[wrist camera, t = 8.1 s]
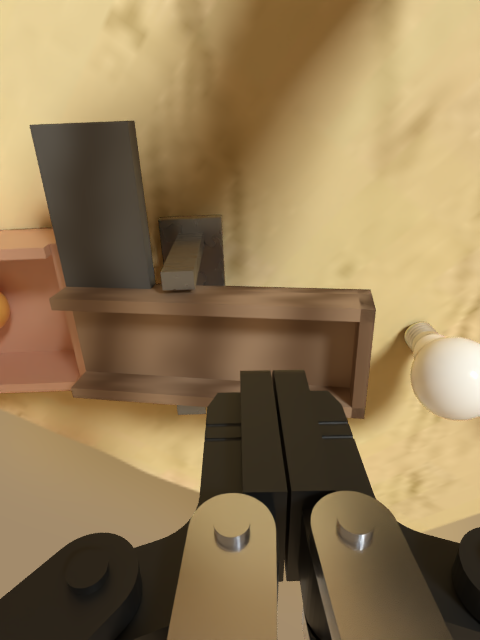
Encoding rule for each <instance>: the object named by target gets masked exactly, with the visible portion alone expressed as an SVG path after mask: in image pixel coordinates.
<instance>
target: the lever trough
mask: <svg viewBox="0 0 480 640" xmlns="http://www.w3.org/2000/svg"><path fill="white" fill-rule="evenodd" d="M30 129H31V134H32V138H33V143H34V147H35V151H36V156H37V160H38V165H39V169H40V173H41V178H42V182H43V187H44V191H45V196H46V200H47V204H48V209H49V213H50V218H51V222H52V226H53V231H54V235H55V240H56V244H57V249H58V253H59V257H60V262H61V266H62V271H63V275H64V280H65V284H66V287H65V288H64V289H62V290H61V291H59V292H58V293H56V294H55V295H54V296H52V297H51V298H49V301H50V305H51V309H52V310H58V311H73V315H74V320H75V324H76V329H77V333H78V338H79V342H80V347H81V351H82V355H83V360H84V364H85V369H86V372H85V373H84V374H83V375H82V376H81V377H80V379H79V380H78V381H77V382H76V383H75V384H74V385H73V386H72V387H71V390H72V394H73V397H75V398H88V399H102V400H115V401H129V402H143V403H156V404H170V405H183V406H197V407H208V406H209V404H210V403H211V401H212V400H213V399H214V397H215V396H216V394H217V393H226V392H240V371H252V370H271V375H272V372H273V370H299V369H304V371H305V374H306V378H307V382H308V385H309V389H310V391H325V390H328V391H329V392H330V393H331V394H332V395H333V396H334V397H335V398H336V399H337V400H338V401H339V402H340V403H341V404H342V407H343V409H344V412H345V415H346V418H359V419H364V414H365V405H366V396H367V387H368V377H369V368H370V359H371V349H372V340H373V331H374V322H375V312H376V309H375V305H374V301H373V298H372V294H371V290H362V289H323V288H285V287H246V286H208V285H196V286H195V289H188V290H163V289H162V284H156V283H155V276H154V268H153V260H152V253H151V245H150V237H149V230H148V222H147V214H146V207H145V199H144V191H143V184H142V176H141V168H140V161H139V153H138V145H137V138H136V130H135V122H134V121H114V122H89V123H64V124H39V125H30Z"/></svg>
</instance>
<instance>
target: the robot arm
mask: <svg viewBox="0 0 480 640" xmlns="http://www.w3.org/2000/svg"><path fill="white" fill-rule="evenodd" d="M284 562H285V571H286V580H287V581H300V585H301V592H302V599H303V614H302V628H303V634H304V639H305V640H480V527H479V528H475V529H473V530H471V531H469V532H468V533H467V534H465V535H464V537H463V538H462V540H461V542H460V543H457V542H452V541H449V540H445V539H441V538H438V537H434V536H430V535H426V534H423V533H420V532H417V531H414V530H412V529H410V528H407V527H405V526H404V525H402V524H400V523H399V522H397V521H396V519H395V517H394V516H393V514H392V513H391V512H390V511H389V509H387V508H386V507H385V506H384V505H383V504H382V503H380V502H379V501H378V500H376V498H375V496H374V493H373V491H372V488H371V485H370V482H369V479H368V477H367V474H366V471H365V468H364V465H363V463H362V460H361V457H360V454H359V451H358V449H357V446H356V443H355V440H354V439H353V435H352V432H351V429H350V426H349V424H348V421H347V418H346V415H345V412H344V409H343V407H342V404H341V403H340V402H339V401H338V400H337V399H336V398H335V397H334V396H333V395H332V394H331V393H330V392H329V391H328V390H325V391H310V389H309V385H308V382H307V378H306V374H305V371H304V369H299V370H273V372H272V375H271V370H252V371H240V392H226V393H217V394H216V396H215V397H214V399H213V400H212V401H211V403H210V404H209V406H208V407H207V418H206V430H205V442H204V453H203V464H202V476H201V487H200V498H199V503H198V506H197V509H196V511H195V513H194V514H193V516H192V517H191V519H190V520H189V521H188V522H187V523H186V524H185V525H184V526H183V527H182V528H181V529H179V530H178V531H177V532H175V533H173V534H171V535H170V536H168V537H165V538H163V539H160V540H157V541H154V542H152V543H148V544H146V545H142V546H139V547H136V548H133V547H132V545H131V544H130V543H129V542H128V541H127V540H125V539H124V538H122V537H121V536H118V535H116V534H111V533H95V534H90V535H86V536H83V537H81V538H78V539H76V540H74V541H72V542H71V543H69V544H67V545H66V546H65V547H64V548H62V549H61V550H60V551H58V552H57V553H56V554H55V555H53V556H52V557H51V558H50V559H49V560H47V561H46V562H45V563H44V564H42V565H41V566H40V567H39V568H38V569H36V570H35V571H34V572H33V573H32V574H30V575H29V576H28V577H27V578H25V579H24V580H23V581H22V582H20V583H19V584H18V585H17V586H16V587H14V588H13V589H12V590H11V591H10V592H8V593H7V594H6V595H5V596H3V597H2V598H1V599H0V640H277V601H278V582H281V581H283V573H284Z"/></svg>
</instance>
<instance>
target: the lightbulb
mask: <svg viewBox="0 0 480 640" xmlns="http://www.w3.org/2000/svg"><path fill="white" fill-rule="evenodd" d="M404 339H405V342H406V343H407V345H408V346H409V348H410V349H411V350H412V352H413V357H414V361H413V364H412V367H411V373H410V379H411V385H412V389H413V391H414V394H415V396H416V397H417V399H418V400H419V402H420V403H421V404H422V405H423V406H424V407H425V408H426V409H427V410H429V411H430V412H432V413H433V414H435V415H437V416H439V417H441V418H444V419H448V420H454V421H465V420H471V419H475V418H477V417H480V343H478V342H476V341H473V340H471V339H467V338H463V337H445V336H443V335H440V334H438V332H437V331H436V330H435V329H434V328H433V327H432V326H431V325H430V324H429V323H426V322H417V323H414V324H412V325H411V326H410V327H409V328H408V329H407V330H406V332H405V335H404Z"/></svg>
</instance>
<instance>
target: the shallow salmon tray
mask: <svg viewBox="0 0 480 640" xmlns="http://www.w3.org/2000/svg"><path fill="white" fill-rule="evenodd" d="M65 287H66V284H65V280H64V275H63V271H62V266H61V262H60V257H59V253H58V249H57V244H56V240H55V235H54V231H53V228H37V229H12V230H0V292H1V293H2V294H3V295H4V296H5V297H6V298H7V300H8V302H9V305H10V315H9V318H8V320H7V322H6V324H5V325H4V326H3V327H2V328H0V393H18V392H44V391H70V390H71V387H72V386H73V385H74V384H75V383H76V382H77V381H78V380H79V379H80V377H81V376H82V375H83V374H84V373H85V372H86V369H85V364H84V360H83V355H82V351H81V347H80V342H79V338H78V333H77V329H76V324H75V320H74V315H73V311H58V310H52V309H51V305H50V301H49V298H51V297H52V296H54V295H55V294H56V293H58V292H59V291H61V290H62V289H64V288H65Z"/></svg>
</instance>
